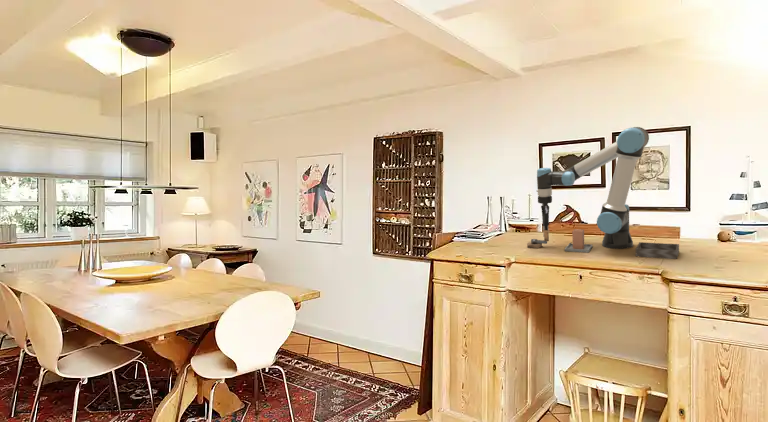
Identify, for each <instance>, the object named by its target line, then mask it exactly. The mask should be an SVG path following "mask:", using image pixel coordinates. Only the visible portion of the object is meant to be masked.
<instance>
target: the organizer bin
mask: <svg viewBox="0 0 768 422" xmlns="http://www.w3.org/2000/svg"><path fill="white" fill-rule="evenodd" d="M679 253H680V243H661V242H660V243H659V242H642V241H640V242H638V244H637V246H636V248H635V257H636V256H639V257H640V258H652V259H653V258H655V259H656V258H657V259H671V260H672V259H673V260H678V258H677V257H679ZM639 257H638V258H639Z"/></svg>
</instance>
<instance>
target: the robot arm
mask: <svg viewBox="0 0 768 422" xmlns="http://www.w3.org/2000/svg"><path fill="white" fill-rule="evenodd" d="M649 140H650V135H649V132H648V131H647V130H646V129H645V128H643V127H640V126H634V127H628V128H626V129H624V130H622V131H621V133H619V134H618V136H617V140H616V141H614V142H613V143H612V144H610V145H608V146H606V147H604V148H603V149H601V150H599V151H596V152H595V153H594V154H591V155H590V156H588V157H587V158H585V159H583V160H581V161H580V162H578V163H576V164H574V165H572V166H571V167H569V168H567V169H564V170H562V171H552V168H551V167H541V168H538V169H537V170H536V181H537V182H536V183H537V190H536V192H537V203H538V204H540V209H541V218H542V219H541V220H542V224H541V225H542V233H543V237H544V232H543V230H549V226H550V206H549V204H551V203H552V202H553V196H552V195H553V188H552V186H565V187H567V186H573V185H574V184H575V181H577V180H579V179H580V178H582V177H584V176H586V175H588V174H589V173H591V172H593V171H595V170H597V169H598V168H601V167H602V166H605V165H607V164H608V163H610V162H611V161H614V160H616V159H617V160H616V164H615V168H614V171H613V172H614V173H613V176H612V180H611V184H610V188H609V191H608V195H607V200H606V202H605V203H603V204H602V205H601V206H602V207H601V208H600V209H601V211H600V213H599V215H598V217H597V219H596V225H597V228H598V229H599V230H600V231H601V232H602V233H604V236H603V237H602V238H603V239H602V241H601V243H602V244H601V246H602V247H603V248H607V249H613V250H614V249H615V250H623V249H630V248H633V247H634V241H633V238H632V236H631V233H630V206H629V204H626V201H627V199H628V195H629V191H630V188H631V184H632V179H633V176H634V173H635V168H636V166H637V165H636V164H637V161H638V160H639V159H641V158H642V156H643V152H644V148H645V147H646V146H647V145H648V143H649Z"/></svg>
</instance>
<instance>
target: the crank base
mask: <svg viewBox="0 0 768 422" xmlns="http://www.w3.org/2000/svg"><path fill="white" fill-rule="evenodd" d="M526 246H527V248H528V249H540V248H542V247H543V244H541V243H531V241H529V242H527V243H526Z"/></svg>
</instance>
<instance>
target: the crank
mask: <svg viewBox="0 0 768 422" xmlns="http://www.w3.org/2000/svg"><path fill="white" fill-rule="evenodd" d="M543 232H544V236H543V237H544V239H537V238H531V239H530V242H531V243H541V244H542V245H543V244H544V245H545V244H548V242H549V241H550V239H549V237H550V236H549V235H550V234H549V233H551V232H550V229H548V230H543V229H542V233H543Z"/></svg>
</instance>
